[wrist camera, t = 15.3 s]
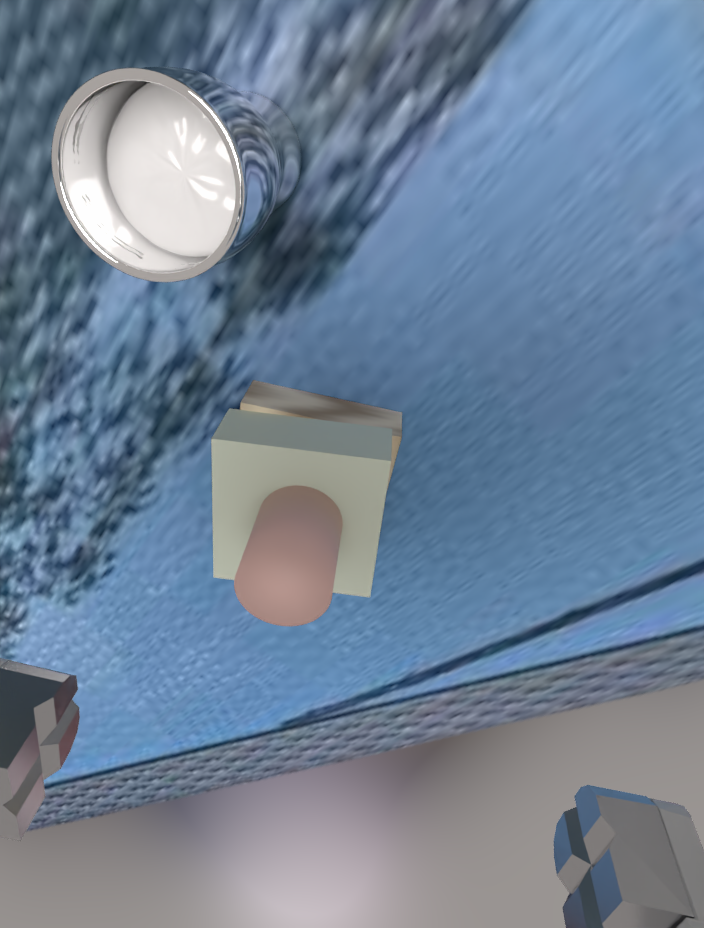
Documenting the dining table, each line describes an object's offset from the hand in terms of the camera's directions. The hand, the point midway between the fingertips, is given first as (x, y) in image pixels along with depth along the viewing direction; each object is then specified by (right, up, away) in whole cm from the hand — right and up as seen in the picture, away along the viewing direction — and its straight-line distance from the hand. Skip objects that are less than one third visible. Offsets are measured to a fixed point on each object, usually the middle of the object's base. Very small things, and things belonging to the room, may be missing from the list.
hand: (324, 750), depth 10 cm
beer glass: (-5, +21, +24) cm, 33 cm away
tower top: (-3, +3, +30) cm, 30 cm away
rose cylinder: (-3, +1, +26) cm, 26 cm away
